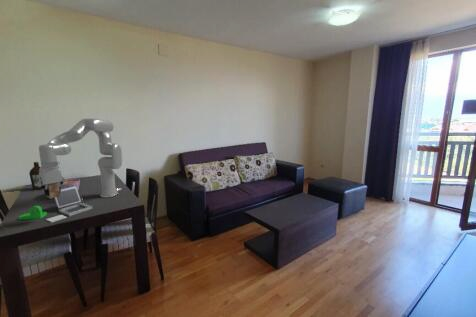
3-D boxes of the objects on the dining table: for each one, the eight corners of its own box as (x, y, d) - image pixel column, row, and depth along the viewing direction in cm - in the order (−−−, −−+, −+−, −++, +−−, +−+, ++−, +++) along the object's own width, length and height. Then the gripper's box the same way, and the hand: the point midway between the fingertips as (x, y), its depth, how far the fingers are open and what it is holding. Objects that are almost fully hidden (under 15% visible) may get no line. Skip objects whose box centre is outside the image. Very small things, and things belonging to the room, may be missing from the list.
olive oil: (31, 189, 200) (27, 162, 196) (47, 187, 208) (43, 160, 204) (32, 192, 193) (27, 163, 189) (48, 189, 200) (44, 162, 196)
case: (79, 203, 167) (77, 185, 165) (94, 208, 158) (92, 189, 155) (55, 210, 154) (52, 191, 151) (69, 216, 144) (67, 195, 142)
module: (56, 194, 141) (54, 181, 140) (60, 196, 139) (58, 182, 137) (46, 197, 137) (44, 183, 135) (50, 198, 134) (48, 184, 133)
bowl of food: (87, 192, 193) (86, 179, 191) (66, 200, 174) (64, 185, 172) (67, 191, 196) (65, 178, 194) (44, 198, 177) (42, 184, 175)
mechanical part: (46, 214, 147) (45, 203, 146) (40, 218, 141) (39, 206, 140) (25, 216, 145) (23, 204, 143) (18, 220, 139) (16, 207, 138)
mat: (61, 215, 145) (61, 214, 145) (66, 217, 142) (66, 216, 142) (46, 220, 138) (46, 219, 138) (51, 222, 135) (51, 221, 135)
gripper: (62, 162, 144) (66, 189, 147) (28, 166, 129) (32, 197, 132) (68, 163, 140) (71, 191, 143) (34, 168, 125) (38, 199, 128)
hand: (53, 193), depth 137 cm, fingers closed on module, 5 cm apart
